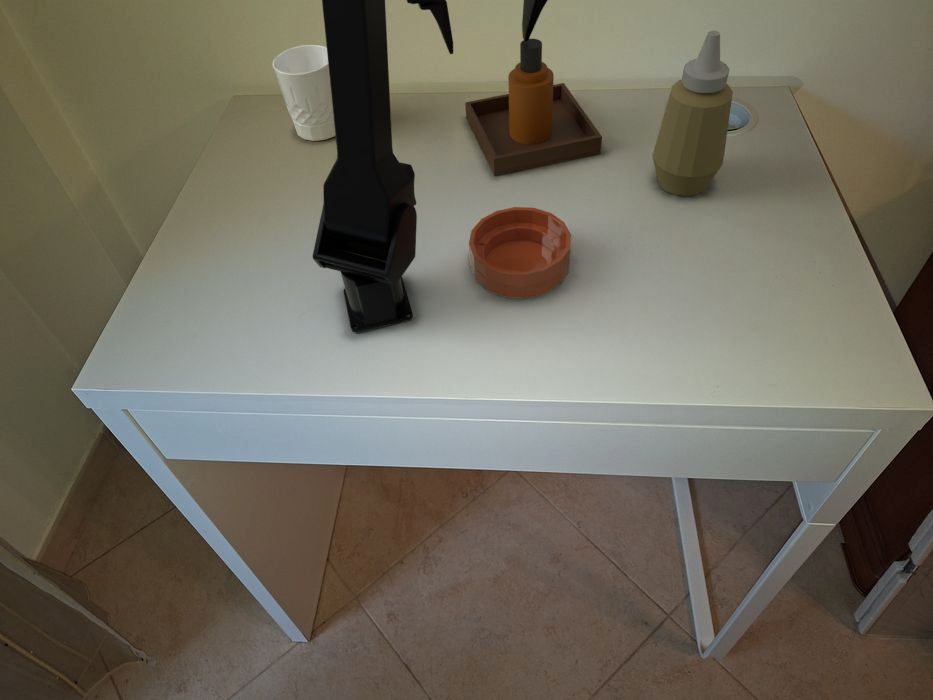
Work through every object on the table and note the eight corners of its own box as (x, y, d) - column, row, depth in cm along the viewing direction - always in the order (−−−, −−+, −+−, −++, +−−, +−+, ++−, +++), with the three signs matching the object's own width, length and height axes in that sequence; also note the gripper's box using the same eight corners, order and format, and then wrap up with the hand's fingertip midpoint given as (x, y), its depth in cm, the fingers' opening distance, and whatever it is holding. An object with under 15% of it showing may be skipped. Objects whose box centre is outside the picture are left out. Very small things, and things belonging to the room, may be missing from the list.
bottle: (557, 139, 88) (561, 49, 79) (516, 148, 88) (515, 58, 79) (543, 117, 92) (545, 29, 83) (504, 126, 91) (501, 37, 82)
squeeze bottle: (666, 209, 79) (696, 59, 65) (636, 170, 84) (658, 23, 70) (729, 194, 80) (772, 43, 66) (696, 157, 85) (730, 9, 71)
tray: (600, 153, 87) (602, 136, 85) (494, 176, 85) (493, 159, 83) (563, 99, 96) (563, 82, 94) (466, 118, 94) (464, 102, 92)
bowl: (583, 288, 71) (585, 260, 68) (486, 311, 70) (484, 283, 67) (550, 227, 78) (551, 198, 75) (461, 246, 77) (458, 218, 74)
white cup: (339, 145, 92) (323, 74, 84) (285, 143, 93) (263, 73, 85) (354, 113, 97) (340, 44, 89) (302, 112, 98) (284, 44, 90)
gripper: (545, -139, 75) (542, 6, 87) (380, -116, 73) (400, 30, 85) (580, -111, 68) (571, 44, 80) (397, -83, 66) (416, 71, 78)
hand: (488, 46), depth 81 cm, fingers open, 9 cm apart
